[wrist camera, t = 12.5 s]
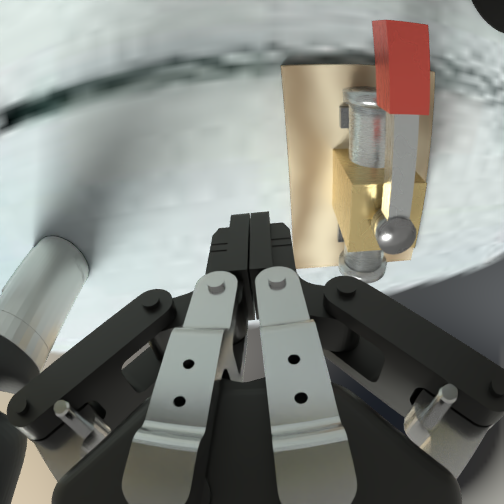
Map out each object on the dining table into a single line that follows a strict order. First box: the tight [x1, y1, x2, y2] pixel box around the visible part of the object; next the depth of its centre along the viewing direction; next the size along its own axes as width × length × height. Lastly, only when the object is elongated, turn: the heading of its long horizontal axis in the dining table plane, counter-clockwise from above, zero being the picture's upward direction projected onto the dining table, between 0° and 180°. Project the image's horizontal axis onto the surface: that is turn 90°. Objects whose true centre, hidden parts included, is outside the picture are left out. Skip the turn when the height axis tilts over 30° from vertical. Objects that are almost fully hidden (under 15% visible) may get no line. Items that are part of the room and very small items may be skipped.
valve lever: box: [371, 20, 430, 255], centre depth 20 cm, size 17×3×3 cm, turn 8°
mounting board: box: [281, 64, 435, 269], centre depth 32 cm, size 15×23×2 cm, turn 6°
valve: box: [332, 86, 427, 283], centre depth 28 cm, size 6×19×8 cm, turn 6°
